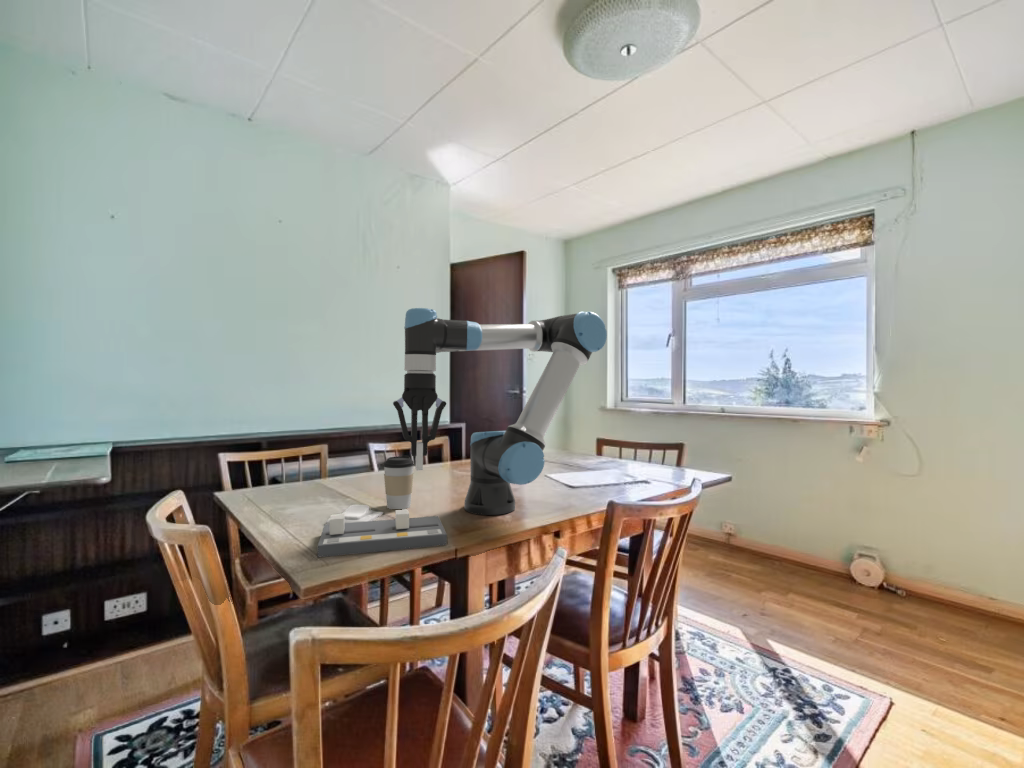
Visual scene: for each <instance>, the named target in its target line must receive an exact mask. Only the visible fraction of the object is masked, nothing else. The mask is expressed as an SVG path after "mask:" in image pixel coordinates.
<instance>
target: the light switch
mask: <svg viewBox="0 0 1024 768" xmlns="http://www.w3.org/2000/svg"><path fill="white" fill-rule="evenodd" d="M340 514H345V523H353V522H366V521H375V520H377V519H378V518H379V517H380V516H382V515H383V514H384V512H383V511H374V510H372V509H370V506H369V505H367V504H351V505H349V506H348V507H347V508H346V509H345V511H343V512H341V513H340ZM381 514H382V515H381ZM378 516H379V517H378ZM377 517H378V518H377ZM374 519H375V520H374ZM327 524H330V518H328V519H326V520H325V525H327Z"/></svg>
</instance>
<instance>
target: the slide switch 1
mask: <svg viewBox="0 0 1024 768" xmlns="http://www.w3.org/2000/svg"><path fill="white" fill-rule="evenodd" d="M329 519H330V535H334V534H344V529H345V514H341V513H339V514H338V513H336V514H335V513H334V514H330V517H329Z"/></svg>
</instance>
